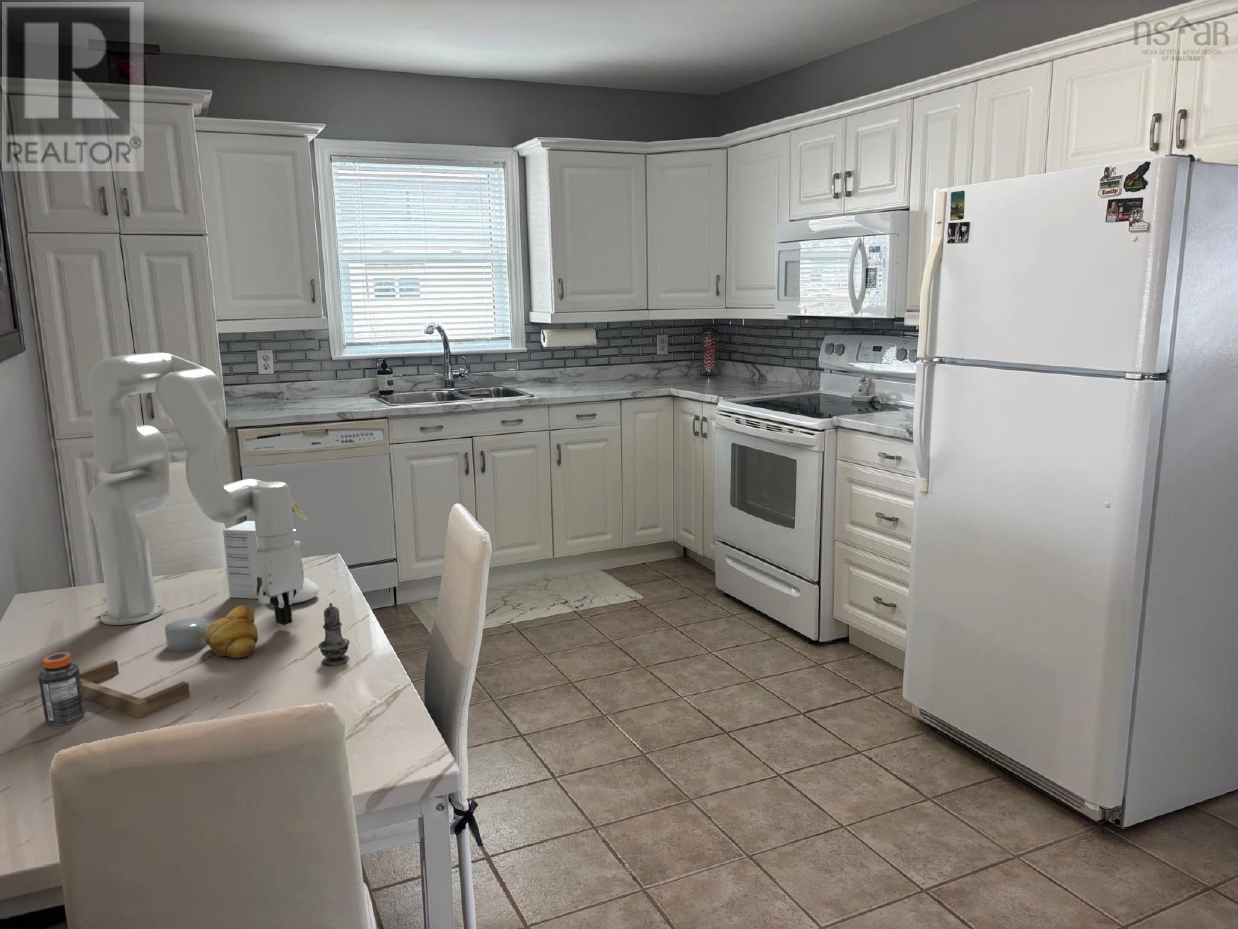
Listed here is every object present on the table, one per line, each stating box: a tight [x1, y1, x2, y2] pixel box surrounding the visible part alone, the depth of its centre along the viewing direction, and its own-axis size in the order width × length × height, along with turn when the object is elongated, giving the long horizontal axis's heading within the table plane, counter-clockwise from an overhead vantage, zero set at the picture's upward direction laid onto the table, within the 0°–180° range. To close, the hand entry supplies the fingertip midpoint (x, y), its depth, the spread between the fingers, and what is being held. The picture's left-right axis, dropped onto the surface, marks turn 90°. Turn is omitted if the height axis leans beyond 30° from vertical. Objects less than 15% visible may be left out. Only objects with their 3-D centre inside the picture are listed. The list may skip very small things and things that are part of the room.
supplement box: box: [222, 520, 259, 600], centre depth 215 cm, size 10×9×17 cm
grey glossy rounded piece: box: [164, 617, 209, 653], centre depth 184 cm, size 8×8×4 cm
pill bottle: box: [38, 651, 86, 726], centre depth 152 cm, size 6×6×11 cm
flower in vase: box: [291, 496, 320, 604], centre depth 209 cm, size 13×11×25 cm
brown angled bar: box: [79, 659, 191, 719], centre depth 162 cm, size 23×10×2 cm, turn 60°
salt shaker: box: [317, 602, 350, 667], centre depth 174 cm, size 6×6×12 cm
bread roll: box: [205, 604, 259, 659], centre depth 180 cm, size 13×10×8 cm
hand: (284, 622), depth 192 cm, fingers closed
